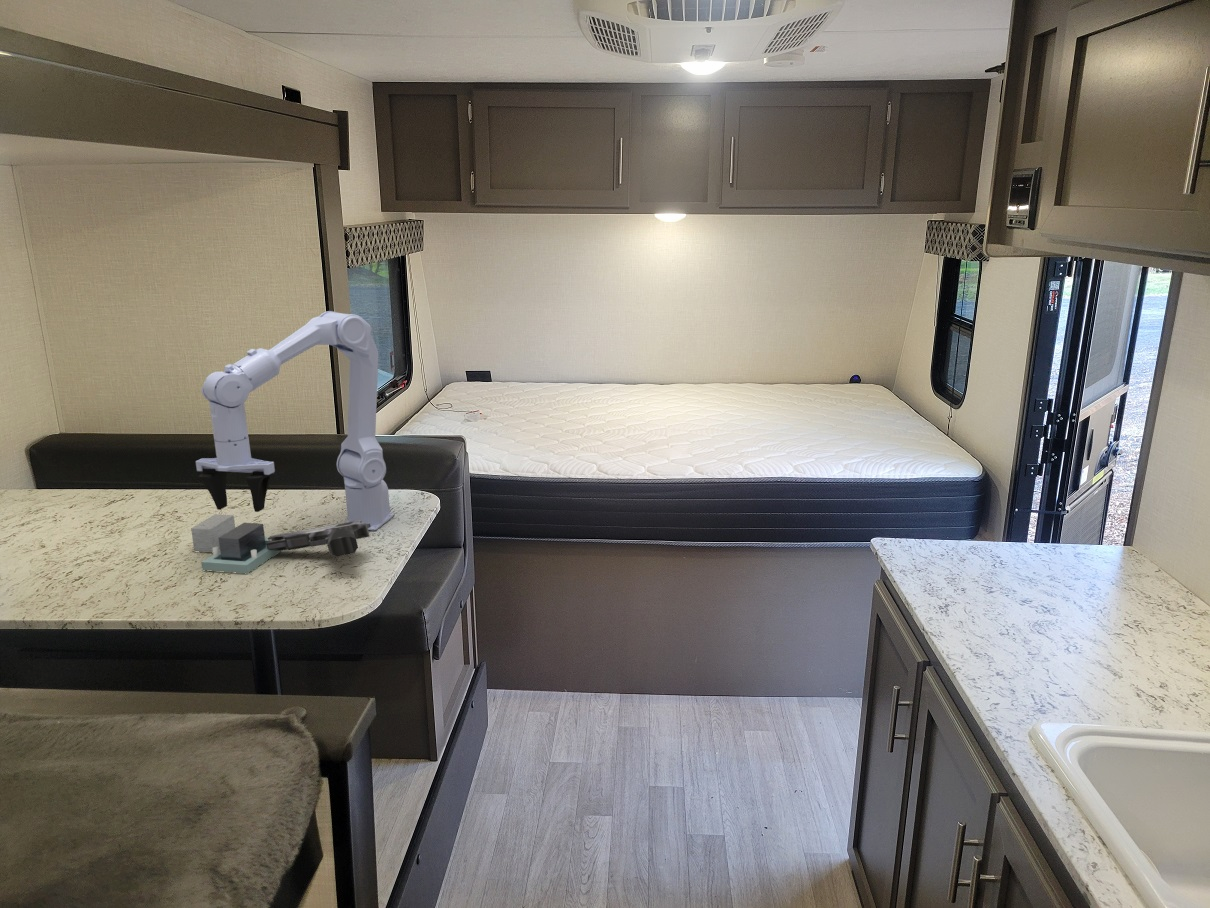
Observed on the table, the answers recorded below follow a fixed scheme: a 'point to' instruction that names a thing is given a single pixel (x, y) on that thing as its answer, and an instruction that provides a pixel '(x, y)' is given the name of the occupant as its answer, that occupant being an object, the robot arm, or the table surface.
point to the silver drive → (211, 532)
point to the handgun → (323, 538)
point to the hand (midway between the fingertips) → (240, 509)
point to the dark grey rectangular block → (242, 542)
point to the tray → (237, 566)
